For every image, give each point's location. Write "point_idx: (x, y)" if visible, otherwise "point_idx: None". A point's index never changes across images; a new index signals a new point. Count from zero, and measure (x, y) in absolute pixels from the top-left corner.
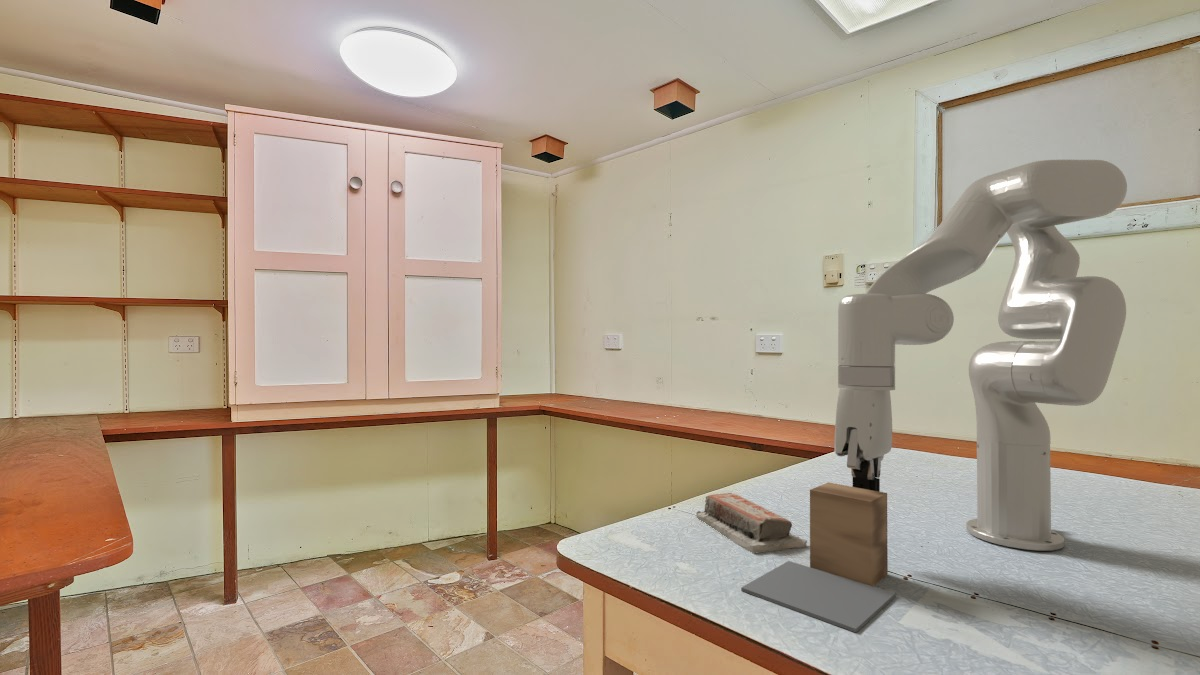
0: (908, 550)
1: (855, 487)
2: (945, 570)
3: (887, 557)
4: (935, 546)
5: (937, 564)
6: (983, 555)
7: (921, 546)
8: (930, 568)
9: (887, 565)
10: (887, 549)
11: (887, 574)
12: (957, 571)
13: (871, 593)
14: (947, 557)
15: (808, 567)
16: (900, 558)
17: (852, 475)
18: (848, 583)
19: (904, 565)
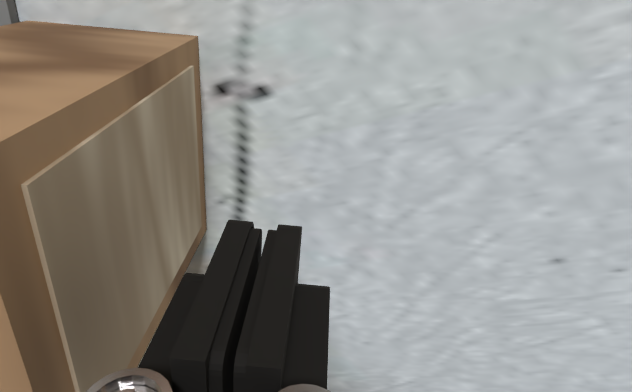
0: (482, 237)
1: (22, 367)
2: (359, 331)
3: (189, 261)
4: (578, 291)
5: (396, 313)
6: (556, 385)
7: (554, 261)
8: (348, 304)
9: (198, 245)
10: (180, 279)
11: (206, 229)
12: (372, 351)
13: None
14: (480, 325)
15: (4, 21)
16: (380, 232)
17: (95, 389)
18: None
19: (321, 251)
